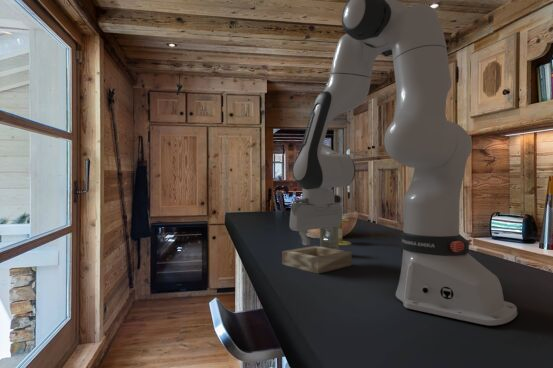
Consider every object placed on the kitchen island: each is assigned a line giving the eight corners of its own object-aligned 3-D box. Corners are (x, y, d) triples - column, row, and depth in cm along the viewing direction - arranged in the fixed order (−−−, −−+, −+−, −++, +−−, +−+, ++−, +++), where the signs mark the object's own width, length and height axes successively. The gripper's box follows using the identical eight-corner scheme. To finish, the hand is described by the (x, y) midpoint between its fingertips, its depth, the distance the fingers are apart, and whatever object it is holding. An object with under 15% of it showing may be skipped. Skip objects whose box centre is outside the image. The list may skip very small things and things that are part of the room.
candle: (323, 242, 149) (323, 178, 149) (344, 241, 152) (344, 178, 152) (333, 246, 140) (333, 178, 140) (356, 245, 143) (356, 178, 143)
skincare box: (339, 253, 125) (339, 219, 125) (338, 256, 121) (338, 220, 121) (320, 253, 126) (320, 219, 126) (319, 255, 122) (319, 220, 122)
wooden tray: (351, 265, 107) (351, 252, 107) (317, 273, 97) (317, 259, 97) (315, 257, 119) (315, 245, 119) (282, 264, 109) (282, 251, 109)
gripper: (299, 199, 99) (299, 248, 99) (345, 197, 112) (345, 240, 112) (284, 198, 104) (284, 245, 104) (330, 197, 117) (330, 238, 117)
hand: (316, 243), depth 108 cm, fingers open, 8 cm apart
